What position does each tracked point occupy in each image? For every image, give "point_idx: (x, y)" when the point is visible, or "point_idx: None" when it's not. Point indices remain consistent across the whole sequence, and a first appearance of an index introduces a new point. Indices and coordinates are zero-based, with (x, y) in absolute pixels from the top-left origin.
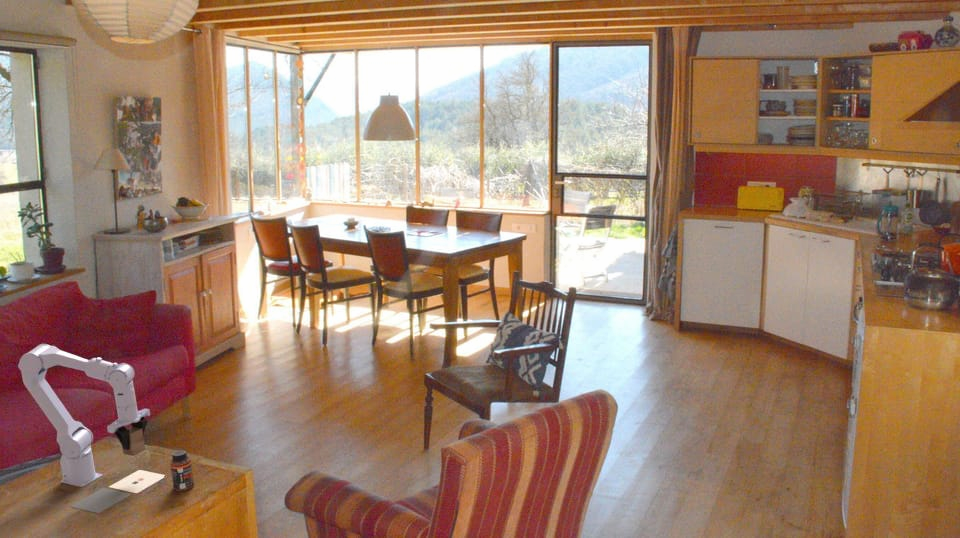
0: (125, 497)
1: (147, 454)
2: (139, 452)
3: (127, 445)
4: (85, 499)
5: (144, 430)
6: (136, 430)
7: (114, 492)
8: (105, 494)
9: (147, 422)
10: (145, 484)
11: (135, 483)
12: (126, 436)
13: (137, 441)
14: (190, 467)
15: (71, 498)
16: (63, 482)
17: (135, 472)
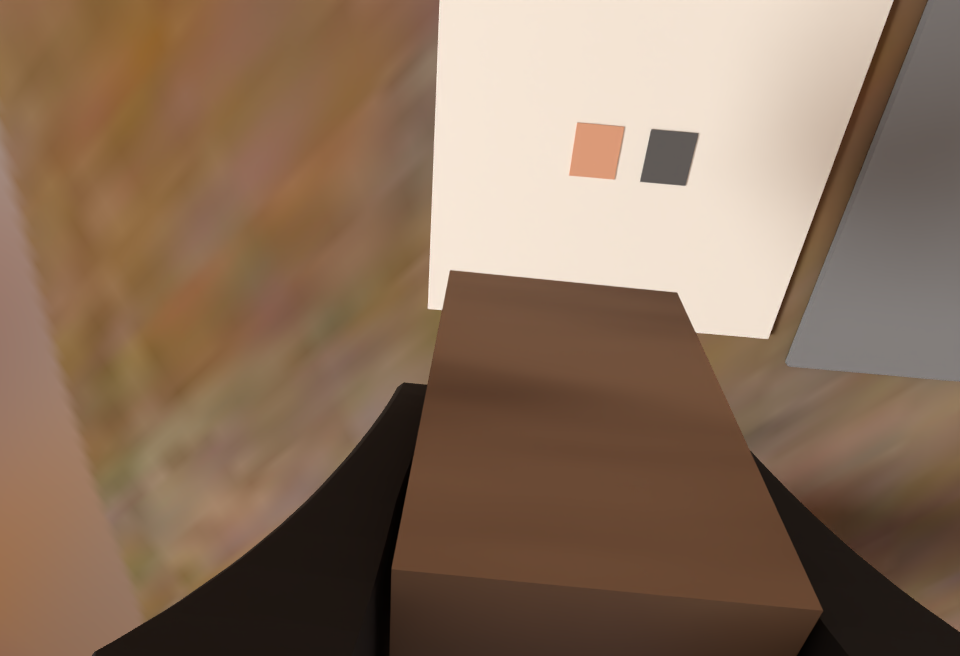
0: None
1: (188, 428)
2: (566, 285)
3: (760, 464)
4: None
5: (299, 509)
6: (534, 620)
7: (888, 209)
8: (926, 262)
9: (112, 644)
10: (692, 10)
11: (685, 142)
12: (912, 626)
13: (587, 401)
14: None
15: (949, 466)
16: None
17: None
